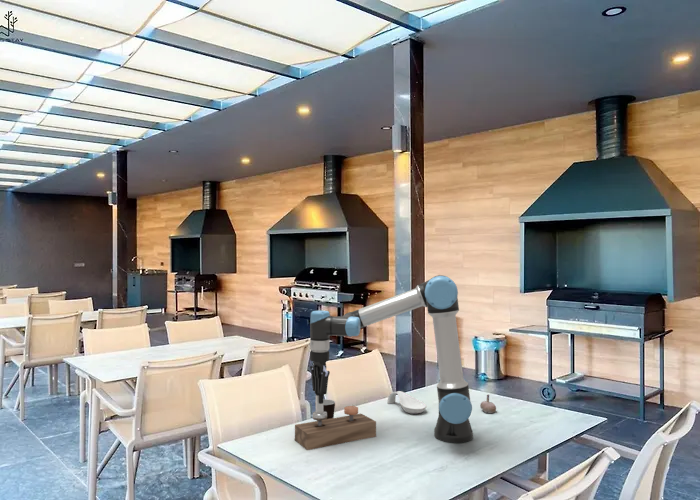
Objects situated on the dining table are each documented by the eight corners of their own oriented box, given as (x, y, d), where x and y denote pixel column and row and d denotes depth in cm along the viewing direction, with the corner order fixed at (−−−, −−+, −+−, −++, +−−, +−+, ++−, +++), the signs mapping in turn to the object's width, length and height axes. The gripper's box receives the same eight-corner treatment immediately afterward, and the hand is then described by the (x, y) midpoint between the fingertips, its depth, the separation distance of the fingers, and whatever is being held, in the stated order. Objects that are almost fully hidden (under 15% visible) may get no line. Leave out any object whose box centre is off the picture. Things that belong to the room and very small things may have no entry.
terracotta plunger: (360, 428, 205) (360, 408, 205) (348, 431, 202) (348, 410, 203) (354, 424, 210) (353, 405, 210) (341, 426, 207) (341, 407, 208)
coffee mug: (332, 429, 213) (332, 405, 213) (312, 428, 215) (312, 404, 215) (338, 421, 225) (338, 398, 225) (319, 419, 226) (319, 397, 226)
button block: (376, 436, 205) (376, 421, 205) (307, 450, 190) (307, 433, 190) (361, 427, 215) (361, 413, 215) (294, 440, 201) (294, 424, 201)
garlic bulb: (483, 408, 243) (483, 391, 243) (499, 411, 239) (498, 394, 239) (477, 412, 237) (477, 395, 237) (493, 415, 233) (493, 397, 233)
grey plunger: (329, 434, 198) (329, 413, 199) (316, 436, 196) (316, 415, 196) (323, 430, 203) (323, 410, 203) (310, 432, 201) (310, 412, 201)
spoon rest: (431, 413, 236) (431, 397, 236) (412, 418, 229) (411, 401, 230) (399, 401, 256) (399, 387, 256) (380, 405, 249) (380, 390, 249)
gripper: (304, 348, 204) (303, 408, 204) (318, 354, 193) (317, 417, 192) (321, 347, 208) (320, 405, 207) (335, 352, 196) (335, 414, 196)
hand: (319, 411), depth 200 cm, fingers closed
